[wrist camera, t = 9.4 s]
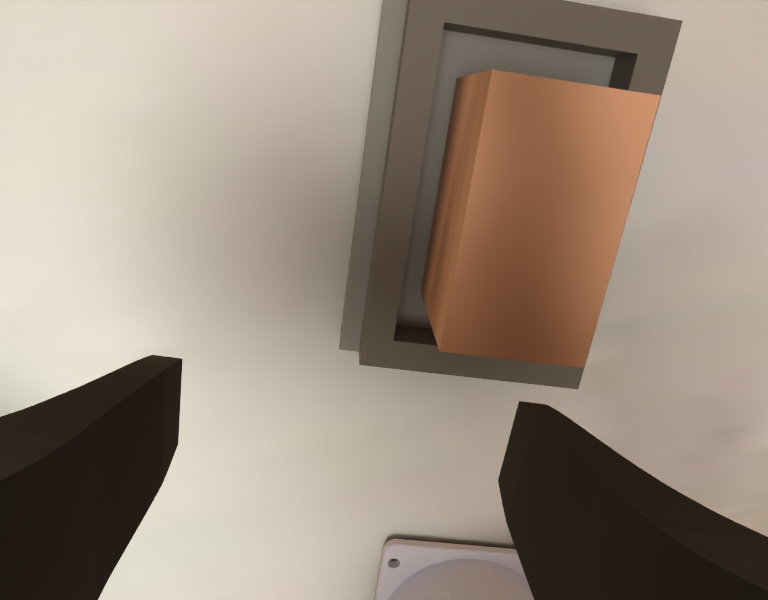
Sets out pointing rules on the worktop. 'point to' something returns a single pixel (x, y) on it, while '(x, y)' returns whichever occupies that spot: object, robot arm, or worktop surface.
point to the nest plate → (427, 144)
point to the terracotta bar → (531, 214)
